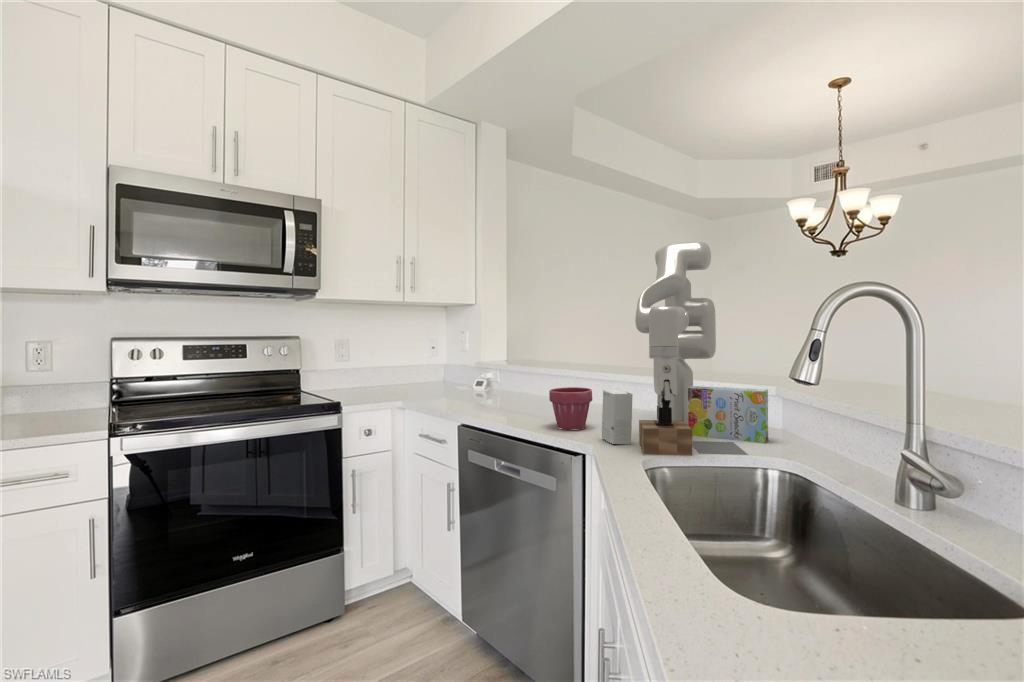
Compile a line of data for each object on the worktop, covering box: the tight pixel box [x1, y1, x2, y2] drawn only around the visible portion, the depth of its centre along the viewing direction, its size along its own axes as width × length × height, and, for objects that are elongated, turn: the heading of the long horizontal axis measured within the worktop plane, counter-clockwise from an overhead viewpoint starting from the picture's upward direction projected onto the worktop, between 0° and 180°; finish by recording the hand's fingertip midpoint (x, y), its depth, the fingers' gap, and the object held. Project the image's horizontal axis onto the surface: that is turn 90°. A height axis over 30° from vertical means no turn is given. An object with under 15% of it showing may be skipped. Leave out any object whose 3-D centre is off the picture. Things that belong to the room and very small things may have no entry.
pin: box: [657, 395, 670, 426], centre depth 132 cm, size 3×3×10 cm
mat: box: [692, 440, 749, 456], centre depth 133 cm, size 14×12×1 cm
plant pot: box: [548, 386, 593, 430], centre depth 164 cm, size 14×14×13 cm
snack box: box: [688, 385, 769, 444], centre depth 144 cm, size 21×6×15 cm, turn 56°
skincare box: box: [601, 389, 634, 445], centre depth 143 cm, size 8×6×15 cm
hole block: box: [638, 419, 693, 457], centre depth 132 cm, size 12×12×7 cm
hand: (664, 420), depth 132 cm, fingers closed on pin, 2 cm apart
